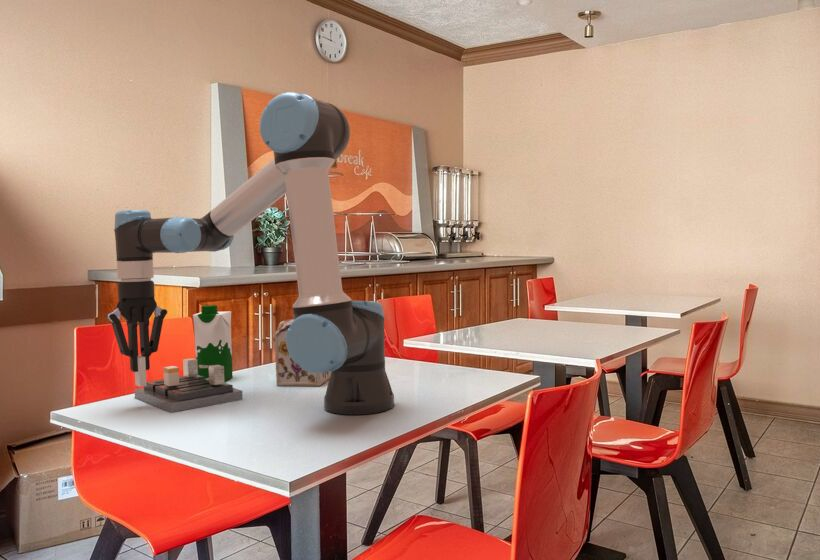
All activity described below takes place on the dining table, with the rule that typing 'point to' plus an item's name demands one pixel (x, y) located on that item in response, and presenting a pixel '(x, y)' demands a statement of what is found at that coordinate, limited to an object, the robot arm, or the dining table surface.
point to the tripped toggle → (171, 375)
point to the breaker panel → (185, 403)
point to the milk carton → (213, 340)
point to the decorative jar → (292, 364)
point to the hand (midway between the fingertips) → (140, 385)
